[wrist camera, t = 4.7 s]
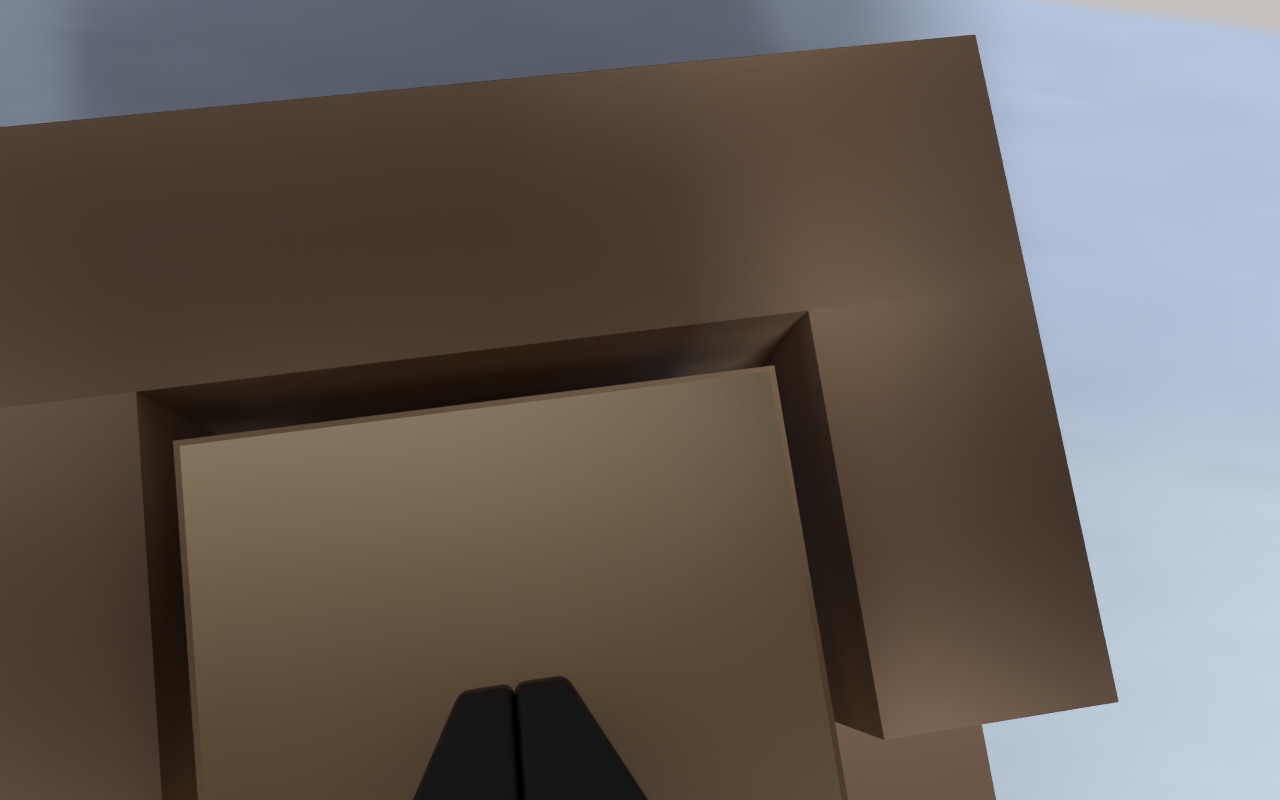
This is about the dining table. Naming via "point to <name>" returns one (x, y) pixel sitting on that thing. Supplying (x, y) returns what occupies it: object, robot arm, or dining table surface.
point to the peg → (507, 590)
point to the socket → (545, 364)
